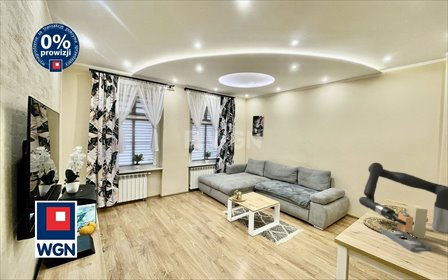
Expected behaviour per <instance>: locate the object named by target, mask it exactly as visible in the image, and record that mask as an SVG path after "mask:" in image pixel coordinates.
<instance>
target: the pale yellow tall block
mask: <svg viewBox="0 0 448 280" xmlns="http://www.w3.org/2000/svg"><path fill="white" fill-rule="evenodd" d="M406 213H407V214H409V216H411V217H413V222H414V225H413V226H412V232H408V233H409V235H410V234H411V235H412V236H414V237H415V238H416V237H417V238H416V239H425V237H426V227H427V219H428V218H427V217H428V209H427V208H426V207H424V206H422V205H420V204H414V203H407V207H406ZM408 233H407V234H408Z"/></svg>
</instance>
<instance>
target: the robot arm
mask: <svg viewBox="0 0 448 280" xmlns="http://www.w3.org/2000/svg"><path fill="white" fill-rule="evenodd" d="M367 171H368V173H369V176H368V179H367V182H366V183H365V187H364V190H363V195H364V196H361V197H359V199H358V201H359V204H360V205H361V206H363V207H366V208H367V209H370V210H371V211H373V212H374V213H376V214H378V215H380V216H382V217H384V218H385V219H386V220H390V221H392V222H394V223H398V222H399V223H401V224H403V225H406V222H405V221H403V220H401V219H399V218H398V214H399V213H396V211H395V210H394V209H392V208H390V207H388V206H386V205H383V204H381V203H378V202H375V193H376V189H377V184H378V181H379V178H384V179H387V180H389V181H392V182H395V183H398V184H400V185H403V186H406V187H409V188H410V187H411V188H413V189H419V190H424V191H427V192H429V193H432V194H434V195H436V198H435V202H434V205H433V208H434V209H433V218H432V229H433V230H435V231H438V232H441V233H444V234H448V186H446V185H444V184H439V183H435V182H431V181H429V180H428V181H427V180H425V179H423V178H420V177H417V176H415V175H412V174H408V173H405V172H399V171H392V170H388V169H385V168H384V167H383V165H382V163H379V162H373V163H371V164H370V165H369V166H368V169H367ZM413 225H414V222H413Z"/></svg>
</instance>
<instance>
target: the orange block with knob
mask: <svg viewBox="0 0 448 280" xmlns="http://www.w3.org/2000/svg"><path fill="white" fill-rule="evenodd" d="M397 214H398V218H399V219H401V220H403V221H405V222H406V225H403V224H401V223H399V222H397V226H396V229H399V230H401V231H403V232H405V233H407V232H412V226H413V217H411V216H409V214H407V212H406V213H405V212H403V213H397Z"/></svg>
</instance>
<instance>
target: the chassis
mask: <svg viewBox="0 0 448 280" xmlns="http://www.w3.org/2000/svg"><path fill="white" fill-rule="evenodd" d="M390 231H391V230H390ZM390 231H388V230H387V229H382V228H381V229H380V234H382V235H383V236H385V237H387V238H388V239H390V240H392V241H393V242H395V243H396V244H398V245H399V246H401V247H402V248H404V249H406V250H408V251H410V252H423V251H424V252H428V251H430V252H431V251H432V248H433V247H432V246H431V245H430V244H428V243H426V242H424V241H422V240H420V239H419V238H416V237H413V236H411V235H410V234H408V233H407V232H403V231H401V230H399V229H398V228H395V229H394V231H395V232H390ZM398 236H399V237H398ZM401 236H404V237H406V238H407V239H406V240H404V239H402V237H401ZM404 237H403V238H404Z"/></svg>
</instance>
